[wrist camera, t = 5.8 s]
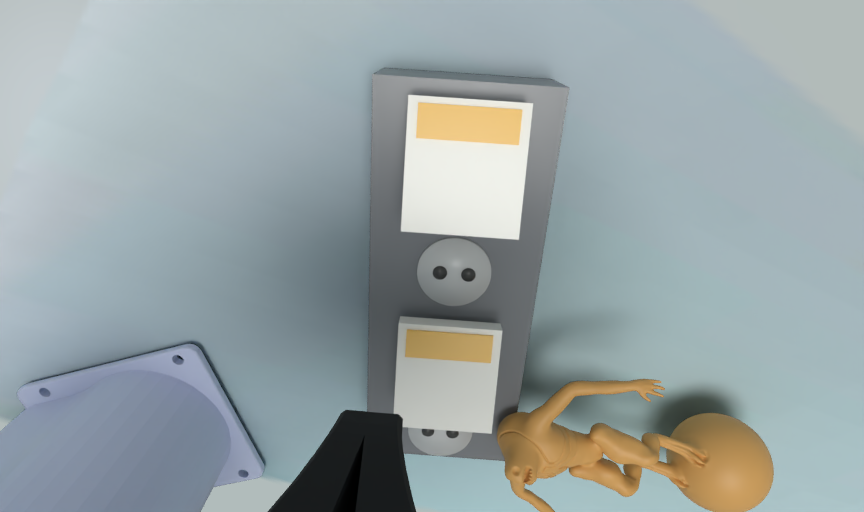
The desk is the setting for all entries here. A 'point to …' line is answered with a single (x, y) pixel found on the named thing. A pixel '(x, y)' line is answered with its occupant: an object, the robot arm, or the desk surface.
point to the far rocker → (447, 374)
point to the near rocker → (465, 166)
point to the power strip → (455, 248)
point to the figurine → (638, 452)
